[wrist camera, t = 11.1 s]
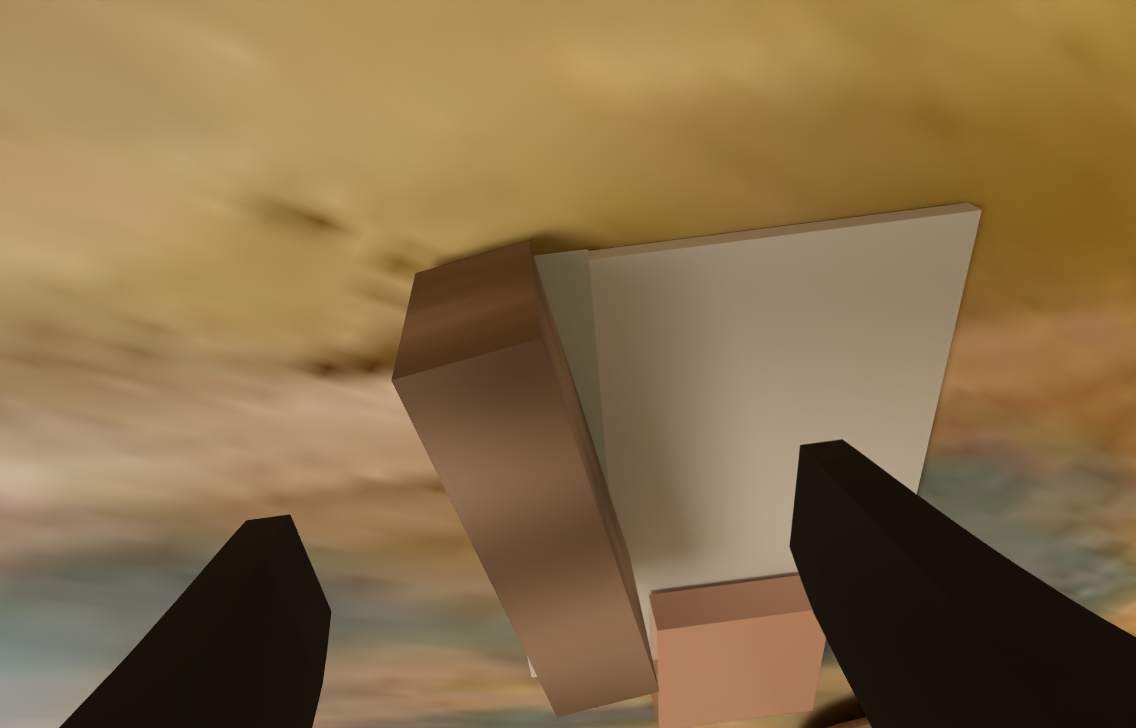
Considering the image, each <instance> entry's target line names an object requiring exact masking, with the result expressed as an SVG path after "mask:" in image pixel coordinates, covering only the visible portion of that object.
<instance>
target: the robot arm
mask: <svg viewBox="0 0 1136 728" xmlns="http://www.w3.org/2000/svg"><path fill="white" fill-rule="evenodd" d="M789 547H790V550H791V553H792V556H793V559H794V561H795V564H796V567H797V570H798V573H799V576H800V578H801V581H802V584H803V587H804V589H805V592H806V595H807V597H808V600H809V602H810V605H811V608H812V610H813V613H814V615H815V617H816V619H817V621H818V623H819V625H820V627H821V629H822V631H823V633H824V635H825V637H826V639H827V641H828V643H829V645H830V647H831V649H832V651H833V653H834V655H835V657H836V659H837V661H838V663H839V665H840V667H841V669H842V671H843V673H844V675H845V676H846V678H847V680H848V682H849V684H850V686H851V688H852V690H853V692H854V694H855V696H856V698H857V700H858V702H859V704H860V706H861V708H862V710H863V712H864V713H865V715H866V717H867V719H868V721H869V723H870V725H871V727H872V728H1136V637H1134V636H1133V635H1131V634H1129V633H1127V632H1126V631H1124V630H1122V629H1120V628H1119V627H1117V626H1115V625H1113V624H1111V623H1110V622H1108V621H1106V620H1104V619H1103V618H1101V617H1099V616H1098V615H1096V614H1094V613H1093V612H1091V611H1089V610H1088V609H1086V608H1084V607H1083V606H1081V605H1079V604H1078V603H1076V602H1074V601H1073V600H1071V599H1070V598H1068V597H1066V596H1065V595H1063V594H1062V593H1060V592H1058V591H1057V590H1055V589H1054V588H1052V587H1051V586H1049V585H1048V584H1046V583H1044V582H1043V581H1041V580H1040V579H1038V578H1037V577H1035V576H1034V575H1032V574H1030V573H1029V572H1027V571H1026V570H1024V569H1023V568H1021V567H1019V566H1018V565H1016V564H1015V563H1013V562H1012V561H1010V560H1009V559H1007V558H1006V557H1004V556H1003V555H1001V554H1000V553H999V552H997V551H996V550H994V549H993V548H991V547H990V546H988V545H987V544H985V543H984V542H982V541H981V540H980V539H978V538H977V537H975V536H974V535H972V534H971V533H969V532H968V531H967V530H965V529H964V528H962V527H961V526H960V525H958V524H957V523H955V522H954V521H953V520H951V519H950V518H948V517H947V516H946V515H944V514H943V513H941V512H940V511H939V510H937V509H936V508H935V507H933V506H932V505H930V504H929V503H928V502H926V501H925V500H924V499H922V498H921V497H920V496H918V495H917V494H916V493H914V492H913V491H911V490H910V489H909V488H907V487H906V486H905V485H903V484H902V483H901V482H899V481H898V480H897V479H895V478H894V477H893V476H891V475H890V474H889V473H887V472H886V471H885V470H883V469H882V468H881V467H879V466H878V465H877V464H875V463H874V462H873V461H871V460H870V459H869V458H867V457H866V456H865V455H863V454H862V453H861V452H859V451H858V450H857V449H855V448H854V447H853V446H851V445H850V444H848V443H847V442H846V441H844V440H843V439H840V440H833V441H825V442H818V443H811V444H803V445H800V450H799V460H798V469H797V479H796V488H795V498H794V508H793V517H792V527H791V536H790V546H789ZM330 619H331V610H330V607H329V605H328V602H327V600H326V598H325V595H324V593H323V591H322V588H321V586H320V584H319V581H318V579H317V576H316V574H315V572H314V569H313V567H312V565H311V562H310V560H309V558H308V555H307V553H306V550H305V548H304V546H303V543H302V541H301V539H300V536H299V534H298V532H297V529H296V527H295V524H294V522H293V520H292V517H291V515H283V516H275V517H268V518H261V519H253V520H246V521H245V523H244V524H243V525H242V526H241V527H240V528H239V529H238V530H237V531H236V532H235V534H234V535H233V536H232V537H231V538H230V539H229V540H228V541H227V543H226V544H225V545H224V546H223V547H222V548H221V550H220V551H219V552H218V553H217V554H216V555H215V556H214V558H213V559H212V560H211V561H210V562H209V563H208V565H207V566H206V567H205V568H204V569H203V570H202V572H201V573H200V574H199V575H198V576H197V577H196V579H195V580H194V581H193V582H192V583H191V584H190V586H189V587H188V588H187V589H186V590H185V591H184V593H183V594H182V595H181V596H180V597H179V598H178V599H177V601H176V602H175V603H174V604H173V605H172V606H171V607H170V608H169V610H168V611H167V612H166V613H165V614H164V615H163V616H162V618H161V619H160V620H159V621H158V622H157V623H156V624H155V625H154V627H153V628H152V629H151V630H150V631H149V632H148V633H147V634H146V636H145V637H144V638H143V639H142V640H141V641H140V642H139V644H138V645H137V646H136V647H135V648H134V649H133V650H132V651H131V653H130V654H129V655H128V656H127V657H126V658H125V659H124V660H123V661H122V662H121V663H120V664H119V665H118V666H117V667H116V669H115V670H114V671H113V672H112V673H111V674H110V675H109V676H108V677H107V678H106V679H105V680H104V681H103V682H102V683H101V684H100V685H99V686H98V687H97V688H96V690H95V691H94V692H93V693H92V694H91V695H90V696H89V697H88V698H87V699H86V700H85V701H84V702H83V703H82V704H81V705H80V706H79V707H78V708H77V710H76V711H75V712H74V713H73V714H72V715H71V716H70V717H69V718H68V719H67V720H66V721H65V722H64V723H63V724H62V725H61V726H60V727H59V728H312V726H313V722H314V718H315V714H316V709H317V705H318V701H319V697H320V693H321V688H322V684H323V677H324V670H325V662H326V655H327V647H328V637H329V628H330Z"/></svg>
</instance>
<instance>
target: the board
mask: <svg viewBox="0 0 1136 728" xmlns="http://www.w3.org/2000/svg"><path fill="white" fill-rule="evenodd" d="M981 211H982V210H981V209H979V208H977V207H975V206H974V205H972V204H970V203H961V204H953V205H946V206H938V207H930V208H922V209H914V210H906V211H898V212H891V213H883V214H875V215H867V216H859V217H851V218H843V219H836V220H828V221H820V222H812V223H804V224H796V225H788V226H781V227H773V228H765V229H757V230H749V231H741V232H733V233H726V234H718V235H710V236H702V237H694V238H686V239H678V240H670V241H663V242H655V243H647V244H639V245H631V246H623V247H615V248H608V249H600V250H592V251H588V249H583V250H576V251H568V252H560V253H552V254H544V255H536V256H534V258H535V261H536V265H537V268H538V271H539V274H540V277H541V280H542V283H543V287H544V290H545V293H546V296H547V299H548V302H549V305H550V308H551V312H552V315H553V318H554V321H555V324H556V327H557V330H558V334H559V337H560V340H561V343H562V346H563V349H564V352H565V356H566V359H567V362H568V365H569V368H570V371H571V374H572V377H573V381H574V384H575V387H576V390H577V393H578V396H579V399H580V403H581V406H582V409H583V412H584V415H585V418H586V421H587V424H588V428H589V431H590V434H591V437H592V440H593V443H594V446H595V450H596V453H597V456H598V459H599V462H600V465H601V468H602V472H603V475H604V478H605V481H606V484H607V487H608V490H609V493H610V497H611V500H612V503H613V506H614V509H615V512H616V515H617V519H618V522H619V525H620V528H621V531H622V534H623V537H624V540H625V544H626V547H627V550H628V553H629V556H630V560H631V565H632V569H633V574H634V578H635V583H636V587H637V592H638V596H639V601H640V605H641V610H642V614H643V619H644V623H645V628H646V632H647V637H648V641H649V646H650V628H649V595H651V594H659V593H666V592H674V591H682V590H689V589H697V588H705V587H713V586H720V585H728V584H736V583H743V582H751V581H759V580H767V579H774V578H782V577H790V576H798V575H799V573H798V570H797V567H796V564H795V561H794V559H793V556H792V553H791V550H790V547H789V546H790V536H791V527H792V517H793V508H794V498H795V488H796V479H797V469H798V460H799V450H800V445H803V444H811V443H818V442H825V441H833V440H840V439H843V440H844V441H846V442H847V443H848V444H850V445H851V446H853V447H854V448H855V449H857V450H858V451H859V452H861V453H862V454H863V455H865V456H866V457H867V458H869V459H870V460H871V461H873V462H874V463H875V464H877V465H878V466H879V467H881V468H882V469H883V470H885V471H886V472H887V473H889V474H890V475H891V476H893V477H894V478H895V479H897V480H898V481H899V482H901V483H902V484H903V485H905V486H906V487H907V488H909V489H910V490H911V491H913V492H914V493H916V494H917V490H918V486H919V482H920V477H921V473H922V469H923V464H924V460H925V455H926V451H927V447H928V442H929V438H930V434H931V429H932V425H933V421H934V416H935V412H936V407H937V403H938V399H939V394H940V390H941V386H942V381H943V377H944V373H945V368H946V364H947V360H948V355H949V351H950V346H951V342H952V338H953V333H954V329H955V325H956V320H957V316H958V312H959V307H960V303H961V298H962V294H963V290H964V285H965V281H966V277H967V272H968V268H969V264H970V259H971V255H972V250H973V246H974V242H975V237H976V233H977V229H978V224H979V220H980V216H981ZM528 662H529V667H530V672H531V677H537V675H536V673H535V671H534V669H533V667H532V665H531V663H530V661H529V659H528Z"/></svg>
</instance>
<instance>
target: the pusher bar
mask: <svg viewBox="0 0 1136 728" xmlns="http://www.w3.org/2000/svg"><path fill="white" fill-rule="evenodd" d="M392 382H393V384H394V386H395V389H396V391H397V393H398V395H399V397H400V399H401V401H402V403H403V405H404V407H405V409H406V411H407V413H408V415H409V417H410V419H411V421H412V423H413V425H414V427H415V429H416V431H417V433H418V435H419V437H420V439H421V441H422V443H423V445H424V447H425V449H426V451H427V454H428V456H429V458H430V460H431V462H432V464H433V466H434V468H435V470H436V472H437V474H438V476H439V478H440V480H441V482H442V484H443V486H444V488H445V490H446V492H447V494H448V496H449V498H450V500H451V502H452V504H453V506H454V508H455V510H456V512H457V514H458V516H459V518H460V521H461V523H462V525H463V527H464V529H465V531H466V533H467V535H468V537H469V539H470V541H471V543H472V545H473V547H474V549H475V551H476V553H477V555H478V557H479V559H480V561H481V563H482V565H483V567H484V569H485V571H486V573H487V575H488V577H489V579H490V581H491V583H492V585H493V588H494V590H495V592H496V594H497V596H498V598H499V600H500V602H501V604H502V606H503V608H504V610H505V612H506V614H507V616H508V618H509V620H510V622H511V624H512V626H513V628H514V630H515V632H516V634H517V636H518V638H519V640H520V642H521V644H522V646H523V648H524V650H525V653H526V655H527V657H528V659H529V661H530V663H531V665H532V667H533V669H534V671H535V673H536V675H537V677H538V679H539V681H540V683H541V685H542V687H543V689H544V691H545V693H546V695H547V697H548V699H549V701H550V703H551V705H552V707H553V709H554V711H555V713H556V715H557V717H559V716H563V715H567V714H571V713H575V712H579V711H583V710H587V709H591V708H595V707H599V706H603V705H607V704H611V703H615V702H619V701H623V700H628V699H632V698H636V697H640V696H644V695H648V694H652V693H656V692H660V691H659V687H658V682H657V678H656V673H655V669H654V664H653V660H652V655H651V651H650V646H649V641H648V637H647V632H646V628H645V623H644V619H643V614H642V610H641V605H640V601H639V596H638V592H637V587H636V583H635V578H634V574H633V569H632V565H631V560H630V556H629V553H628V550H627V547H626V544H625V540H624V537H623V534H622V531H621V528H620V525H619V522H618V519H617V515H616V512H615V509H614V506H613V503H612V500H611V497H610V493H609V490H608V487H607V484H606V481H605V478H604V475H603V472H602V468H601V465H600V462H599V459H598V456H597V453H596V450H595V446H594V443H593V440H592V437H591V434H590V431H589V428H588V424H587V421H586V418H585V415H584V412H583V409H582V406H581V403H580V399H579V396H578V393H577V390H576V387H575V384H574V381H573V377H572V374H571V371H570V368H569V365H568V362H567V359H566V356H565V352H564V349H563V346H562V343H561V340H560V337H559V334H558V330H557V327H556V324H555V321H554V318H553V315H552V312H551V308H550V305H549V302H548V299H547V296H546V293H545V290H544V287H543V283H542V280H541V277H540V274H539V271H538V268H537V265H536V261H535V258H534V255H533V252H532V249H531V246H530V243H529V240H528V241H525V242H522V243H518V244H515V245H511V246H508V247H504V248H501V249H497V250H494V251H491V252H487V253H484V254H480V255H477V256H473V257H470V258H466V259H463V260H460V261H456V262H453V263H449V264H446V265H442V266H439V267H435V268H432V269H429V270H425V271H422V272H418V273H415V278H414V282H413V287H412V291H411V296H410V300H409V305H408V309H407V313H406V318H405V322H404V327H403V331H402V336H401V340H400V345H399V349H398V354H397V358H396V363H395V367H394V371H393V376H392Z"/></svg>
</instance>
